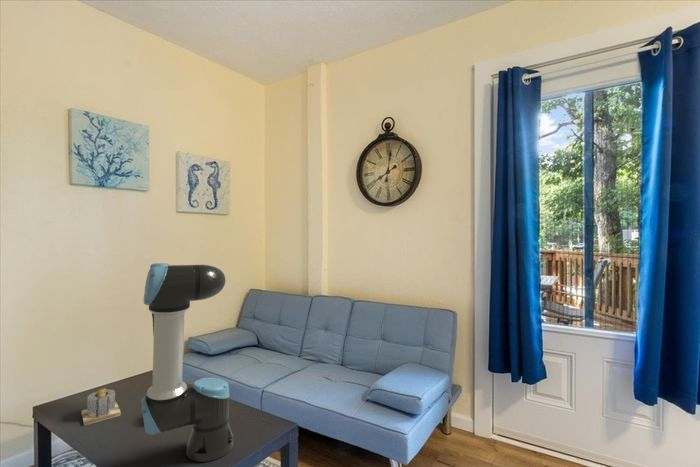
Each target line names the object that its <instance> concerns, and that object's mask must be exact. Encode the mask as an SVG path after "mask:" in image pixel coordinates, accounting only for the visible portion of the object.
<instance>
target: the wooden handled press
mask: <svg viewBox="0 0 700 467" xmlns="http://www.w3.org/2000/svg"><path fill="white" fill-rule="evenodd" d="M106 390H107V388H106V387H100V388H98V389H97V390H96V391H97V397H102V396H105V395H106ZM80 414H81V417H82V423H83V426H84V427H85V426H88V425H91V424H95V423H98V422H102V421H105V420H108V419H109V420H111V419H114V418H116V417H120V416H122V412H121V409H120V406H119V405H118V403H117V401H115V410H114V411H113V412H111V413H110V414H107V415H105V416H101V417H98V416H97V417H89V416H88V415H87V408H86V409H82V410H81V413H80Z"/></svg>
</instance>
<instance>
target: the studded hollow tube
mask: <svg viewBox="0 0 700 467" xmlns="http://www.w3.org/2000/svg"><path fill="white" fill-rule="evenodd" d="M86 398H87V403H86V404H87V405H86V406H87V408H86V409H87V415H88V416H89V417H97V416H98V417H101V416H105V415H107V414H110V413H111V412H113V411H114V410H115V402H116V391H115V389H108V388H106V395H105V396H102V397H97V390H96V391H95V392H92V393H90V394H89V395H88V396H87V397H86Z"/></svg>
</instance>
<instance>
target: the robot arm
mask: <svg viewBox="0 0 700 467" xmlns="http://www.w3.org/2000/svg"><path fill="white" fill-rule="evenodd" d="M225 285H226V275H225V274H224V272H223V271H222V269H220V268H218V267H216V266H212V265H209V264H181V265H179V264H177V265H175V264H173V265H171V264H170V263H166V262H160V263H152V264H150V267H149V270H148V272H147V276H146V280H145V285H144V294H143V304H144V305H146V306H148V311H149V312H151V317H152V318H151V319H152V331H153V332H152V333H153V334H152V335H153V348H152V350H153V352H152V385H151V386H150V387H149V388H148V389H147V391H146V395H145V396H143V397H142V398H141V399H140V400H141V411H142V419H143V426H144V430H145V433H146V434H147V435H156V434H162V433H163V434H164V432H169V431H172V430H176V429H180V428H184V427H188V426H192V430H191V433H190V435H189V438H188V441H187V444H186V456H187V458H188V459H190V460H191V461H194V462H199V463H200V462H201V463H202V462H203V463H205V462H211V461H215V460H218V459H220V458H222V457H224V456H226V455H227V454H228V453H230V452H231V450H232V449H233V447H234V435H233V432H232V429H231V425H230V422H229V421H230V420H229V416H230V415H229V413H230V412H229V411H230V404H229V403H230V396H231V394H230V388H229V386H230V385H229V383H228V382H227V381H226V380H224V379H223V378H219V377H203V378H202V377H201V378H199V379H197V380H195V381H194V382H193V383H192V386H191V387H188V384H187V383H186V382H185V381H184V380H183V366H184V365H183V363H184V333H185V332H184V331H185V312H186V311H188V310H189V309H190V307H191V302H194V301H202V300H206V299H210V298H212V297H215V296H216V295H218V294H219V293H220V292H221V291H222V290H223V289H224V287H225Z"/></svg>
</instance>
